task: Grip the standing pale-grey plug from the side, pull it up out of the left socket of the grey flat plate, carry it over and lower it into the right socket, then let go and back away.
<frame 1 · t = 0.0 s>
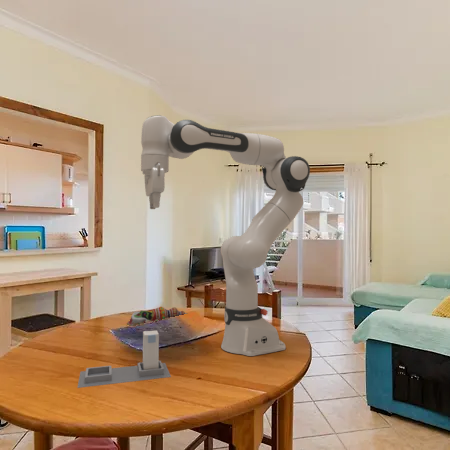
hand: (154, 208, 119), 48 cm above the table, tool pointing down, fingers open, 8 cm apart
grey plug: (150, 371, 104), point 1 cm above the table, touching grey flat plate
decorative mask: (161, 324, 161), on the table
grey flat plate: (125, 376, 102), on the table
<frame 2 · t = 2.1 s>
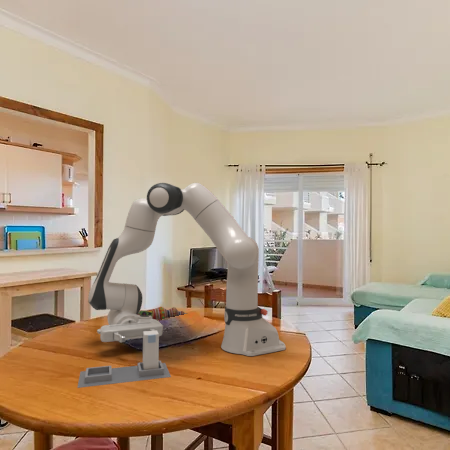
hand: (138, 337, 115), 7 cm above the table, tool horizontal, fingers open, 8 cm apart
nothing on the table moved.
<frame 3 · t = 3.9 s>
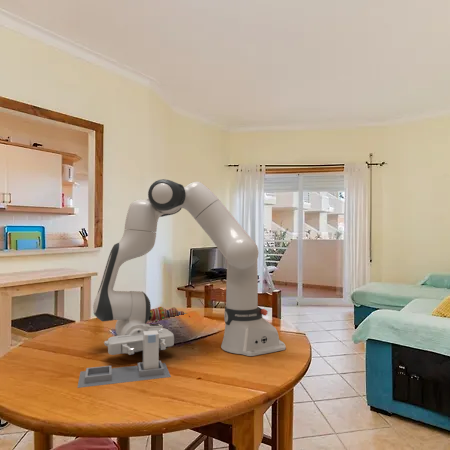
hand: (147, 349, 107), 6 cm above the table, tool horizontal, fingers open, 8 cm apart
nothing on the table moved.
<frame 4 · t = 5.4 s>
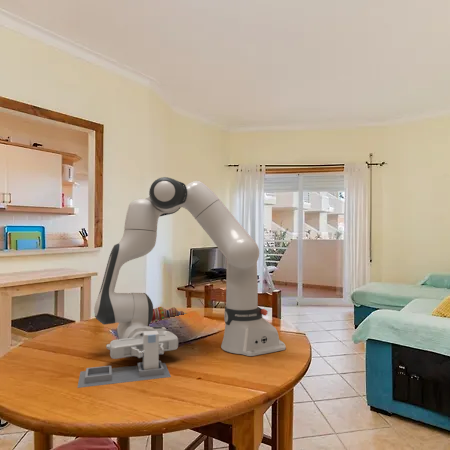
hand: (151, 353, 103), 6 cm above the table, tool horizontal, fingers closed on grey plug, 4 cm apart
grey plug: (150, 371, 104), point 1 cm above the table, touching gripper, grey flat plate
everything else where it was.
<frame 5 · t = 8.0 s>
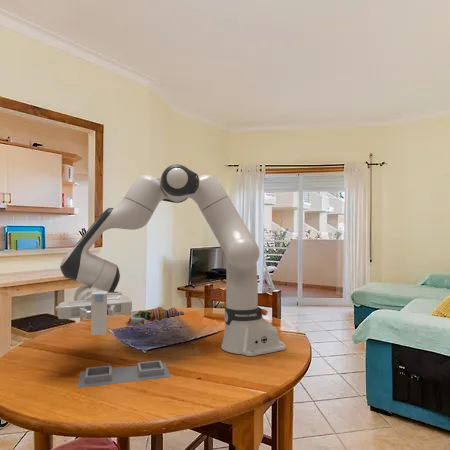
hand: (99, 313, 99), 18 cm above the table, tool horizontal, fingers closed on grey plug, 4 cm apart
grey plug: (98, 332, 100), point 13 cm above the table, touching gripper
everything else where it was.
when the fingers open (7 cm above the table, at t = 10.8 s): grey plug stays where it is, resting on grey flat plate.
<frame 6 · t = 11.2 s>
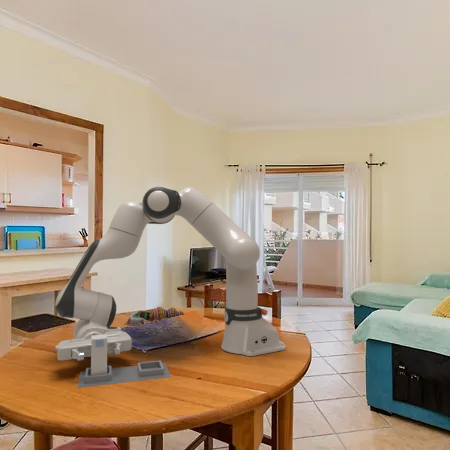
hand: (99, 354, 99), 7 cm above the table, tool horizontal, fingers open, 8 cm apart
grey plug: (98, 377, 100), point 1 cm above the table, touching grey flat plate
everything else where it was.
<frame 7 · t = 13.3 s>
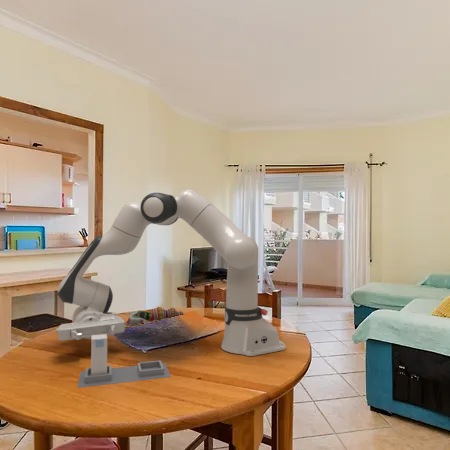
hand: (95, 334, 111), 9 cm above the table, tool horizontal, fingers open, 8 cm apart
nothing on the table moved.
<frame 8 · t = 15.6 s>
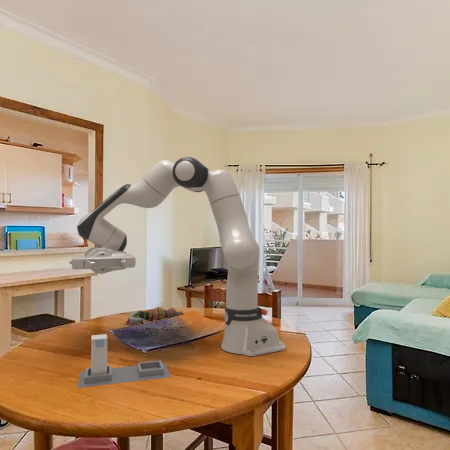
hand: (108, 264, 115), 30 cm above the table, tool horizontal, fingers open, 8 cm apart
at the end: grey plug 0.0 cm from the target spot on the grey flat plate, point 0.6 cm above the grey flat plate's base; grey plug tilted 0°; the gripper is holding nothing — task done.
